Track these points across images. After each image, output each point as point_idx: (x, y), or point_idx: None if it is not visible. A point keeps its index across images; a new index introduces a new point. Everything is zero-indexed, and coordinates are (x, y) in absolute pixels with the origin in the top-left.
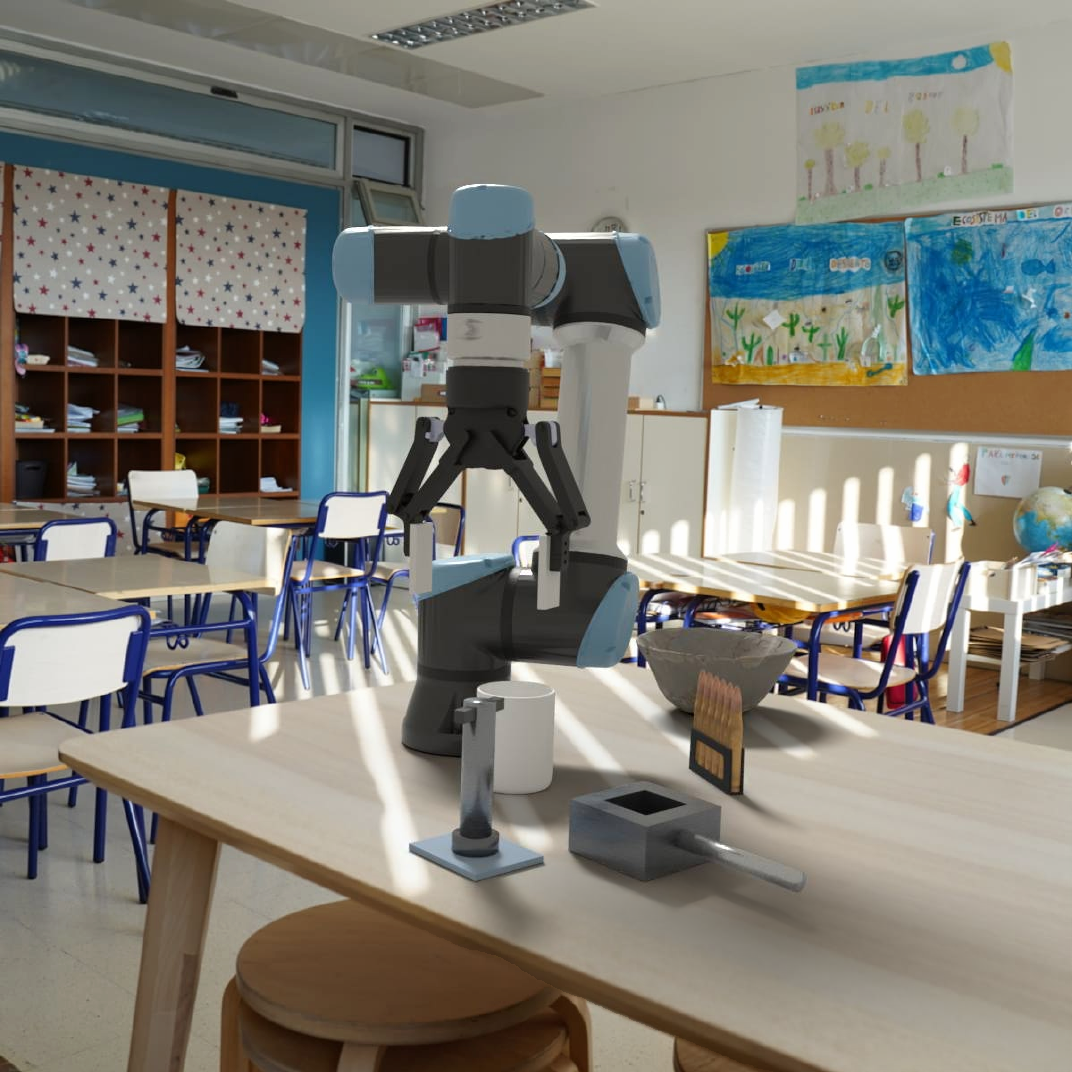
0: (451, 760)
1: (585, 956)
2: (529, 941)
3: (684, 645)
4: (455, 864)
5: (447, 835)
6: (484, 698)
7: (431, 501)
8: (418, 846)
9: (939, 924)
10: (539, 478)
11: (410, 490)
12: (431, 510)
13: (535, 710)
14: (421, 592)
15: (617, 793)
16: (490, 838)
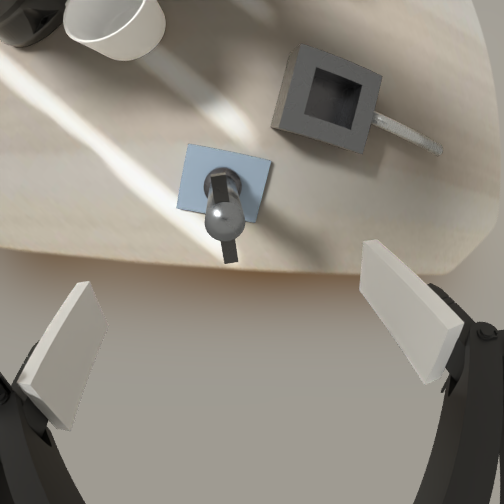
0: (59, 34)
1: (360, 261)
2: (330, 266)
3: None
4: None
5: (185, 175)
6: (219, 207)
7: (51, 464)
8: (186, 208)
9: (470, 123)
10: (488, 485)
11: (2, 470)
12: (18, 413)
13: (145, 14)
14: (102, 312)
15: (303, 89)
16: (238, 188)
